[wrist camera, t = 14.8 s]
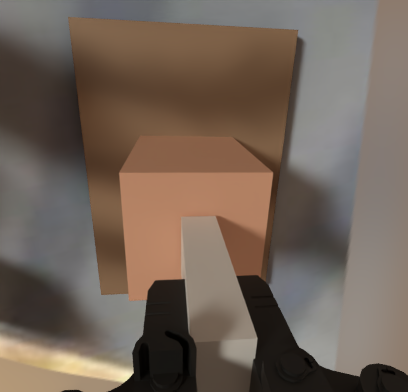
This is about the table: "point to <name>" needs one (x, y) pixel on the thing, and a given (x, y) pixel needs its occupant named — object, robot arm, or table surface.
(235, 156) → the tall salmon block
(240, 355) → the robot arm
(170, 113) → the post board
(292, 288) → the table surface
